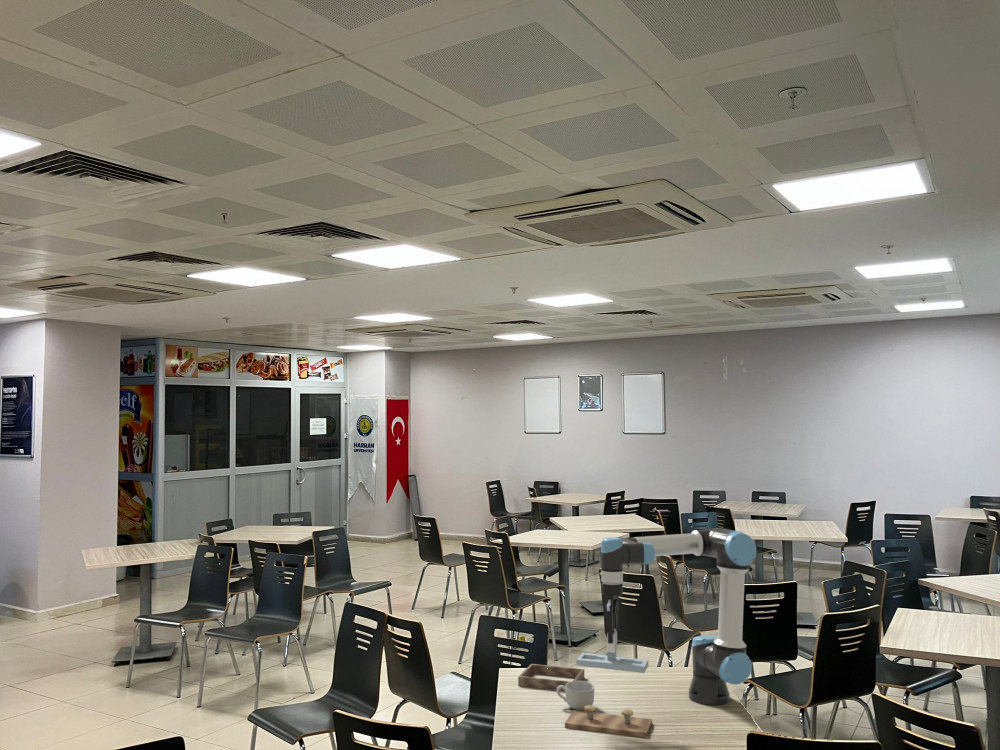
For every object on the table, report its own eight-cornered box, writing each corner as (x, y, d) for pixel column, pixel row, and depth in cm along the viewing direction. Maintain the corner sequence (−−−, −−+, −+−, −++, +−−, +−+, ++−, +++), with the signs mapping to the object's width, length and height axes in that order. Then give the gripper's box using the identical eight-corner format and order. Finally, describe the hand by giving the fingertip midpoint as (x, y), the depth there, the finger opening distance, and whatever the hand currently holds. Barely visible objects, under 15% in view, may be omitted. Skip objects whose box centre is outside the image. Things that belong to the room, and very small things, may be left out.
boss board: (652, 723, 269) (651, 707, 269) (646, 737, 257) (646, 720, 257) (573, 714, 278) (573, 698, 278) (564, 727, 266) (564, 711, 266)
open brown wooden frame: (584, 677, 319) (584, 669, 319) (574, 691, 302) (574, 682, 302) (531, 672, 327) (531, 663, 327) (518, 685, 310) (518, 676, 310)
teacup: (597, 704, 288) (597, 682, 289) (591, 714, 278) (590, 691, 279) (561, 700, 293) (561, 678, 293) (553, 709, 283) (553, 687, 283)
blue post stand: (648, 665, 270) (648, 629, 271) (644, 673, 261) (643, 635, 262) (582, 658, 278) (582, 623, 279) (576, 665, 269) (576, 628, 270)
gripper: (606, 578, 280) (606, 644, 278) (596, 585, 265) (596, 655, 264) (626, 579, 278) (626, 646, 276) (618, 587, 263) (618, 658, 261)
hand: (612, 650), depth 270 cm, fingers closed on blue post stand, 3 cm apart
